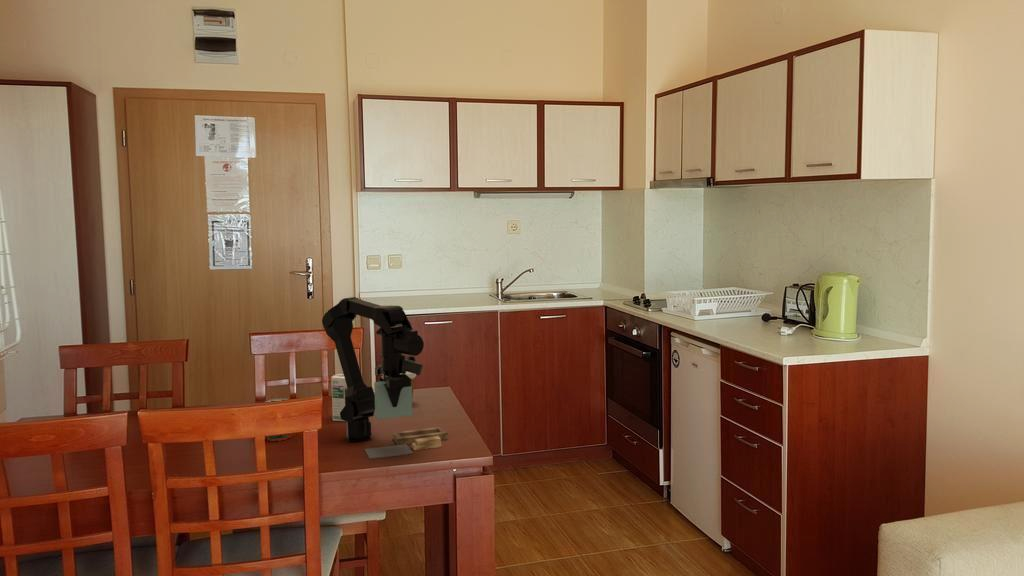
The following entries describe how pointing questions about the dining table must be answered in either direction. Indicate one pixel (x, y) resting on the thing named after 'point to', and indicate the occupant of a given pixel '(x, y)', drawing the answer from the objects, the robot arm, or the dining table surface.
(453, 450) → the dining table surface
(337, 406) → the syrup box
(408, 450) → the mat
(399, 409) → the panel
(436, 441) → the offcut stack
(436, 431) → the rack
